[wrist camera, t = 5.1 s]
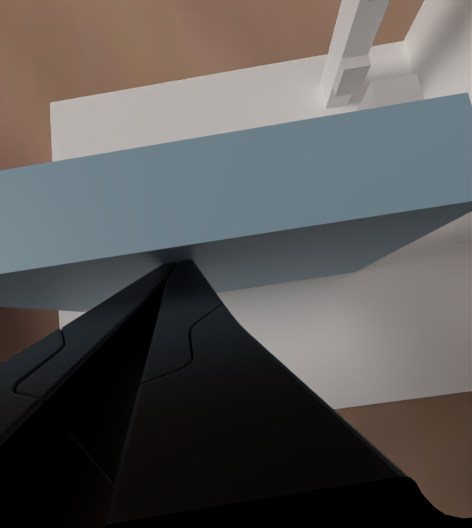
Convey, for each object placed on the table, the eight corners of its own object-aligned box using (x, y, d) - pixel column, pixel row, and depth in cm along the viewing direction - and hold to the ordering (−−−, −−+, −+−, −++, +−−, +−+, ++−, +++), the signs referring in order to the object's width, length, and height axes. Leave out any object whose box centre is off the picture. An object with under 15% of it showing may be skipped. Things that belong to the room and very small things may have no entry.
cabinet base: (508, 380, 16) (933, 479, 6) (75, 437, 17) (-197, 608, 7) (416, 51, 20) (588, -243, 10) (59, 113, 21) (-138, -95, 10)
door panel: (355, 271, 17) (499, 197, 7) (83, 311, 17) (-153, 297, 7) (340, 196, 17) (448, 29, 7) (79, 237, 18) (-141, 132, 8)
